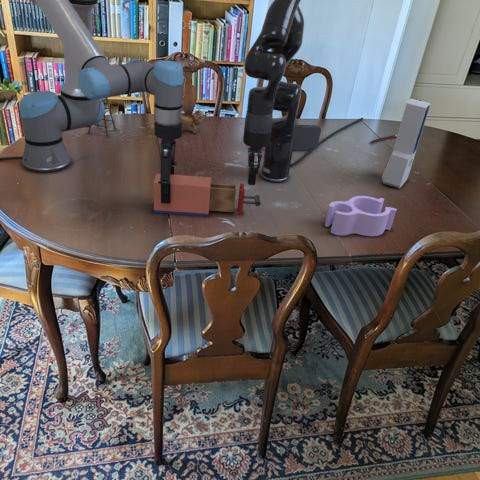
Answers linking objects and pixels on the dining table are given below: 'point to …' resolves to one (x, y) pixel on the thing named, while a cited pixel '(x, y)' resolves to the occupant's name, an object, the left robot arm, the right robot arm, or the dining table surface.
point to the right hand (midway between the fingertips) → (251, 183)
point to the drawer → (228, 198)
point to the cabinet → (184, 195)
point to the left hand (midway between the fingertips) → (167, 194)
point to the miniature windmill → (105, 119)
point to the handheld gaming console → (306, 137)
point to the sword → (383, 138)
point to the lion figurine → (193, 120)
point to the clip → (359, 216)
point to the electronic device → (406, 143)
